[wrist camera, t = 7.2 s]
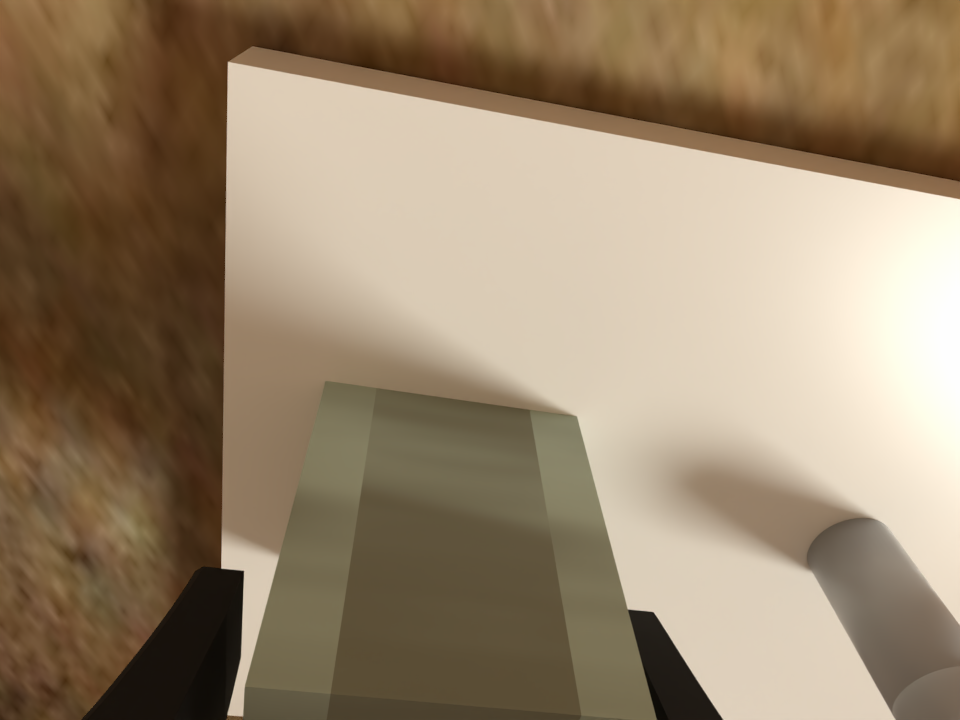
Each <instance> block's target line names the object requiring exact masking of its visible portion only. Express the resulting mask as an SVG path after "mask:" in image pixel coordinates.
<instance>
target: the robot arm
mask: <svg viewBox="0 0 960 720" xmlns="http://www.w3.org/2000/svg"><path fill="white" fill-rule="evenodd" d="M243 588H244V571H241V570H231V569H221V568H211V567H202V568H200V569H198V570H197V571H195V573H194V574H193V576H192V578H191V579H190V581H189V582H188V584H187V586H186V587H185V589H184V590H183V592H182V593H181V594H180V596H179V597H178V599H177V600H176V602H175V603H174V605H173V606H172V608H171V609H170V610H169V612H168V613H167V615H166V616H165V617H164V619H163V620H162V621H161V623H160V624H159V625H158V627H157V628H156V629H155V631H154V632H153V633H152V635H151V636H150V637H149V639H148V640H147V641H146V643H145V644H144V645H143V647H142V648H141V649H140V650H139V652H138V653H137V654H136V655H135V657H134V658H133V659H132V660H131V661H130V663H129V664H128V665H127V666H126V668H125V669H124V670H123V671H122V673H121V674H120V675H119V676H118V678H117V679H116V680H115V681H114V682H113V684H112V685H111V686H110V687H109V689H108V690H107V691H106V692H105V693H104V695H103V696H102V697H101V698H100V699H99V701H98V702H97V703H96V704H95V705H94V706H93V707H92V708H91V710H90V711H89V712H88V713H87V714H86V715H85V716H84V717H83V719H82V720H226V718H227V714H228V710H229V706H230V702H231V698H232V694H233V690H234V685H235V681H236V677H237V673H238V668H239V664H240V660H241V645H242V616H243ZM628 612H629V616H630V620H631V624H632V627H633V631H634V635H635V639H636V643H637V646H638V650H639V654H640V658H641V661H642V665H643V669H644V673H645V677H646V680H647V684H648V688H649V692H650V696H651V699H652V703H653V707H654V711H655V715H656V718H657V720H723V719H722V717H721V716H720V714H719V713H718V711H717V710H716V708H715V707H714V705H713V704H712V702H711V701H710V699H709V698H708V696H707V695H706V693H705V692H704V690H703V688H702V687H701V685H700V684H699V682H698V681H697V679H696V678H695V676H694V674H693V673H692V671H691V670H690V668H689V667H688V665H687V664H686V662H685V660H684V659H683V657H682V656H681V654H680V652H679V651H678V649H677V648H676V646H675V645H674V643H673V641H672V640H671V638H670V637H669V635H668V633H667V632H666V630H665V629H664V627H663V626H662V624H661V622H660V621H659V619H658V618H657V616H656V615H655V614H654V612H649V611H639V610H629V609H628Z"/></svg>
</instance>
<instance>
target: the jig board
mask: <svg viewBox="0 0 960 720" xmlns="http://www.w3.org/2000/svg"><path fill="white" fill-rule="evenodd" d="M325 381H331V382H338V383H345V384H352V385H359V386H366V387H373V388H380V389H387V390H394V391H401V392H408V393H415V394H422V395H429V396H436V397H443V398H450V399H457V400H464V401H472V402H479V403H486V404H493V405H500V406H507V407H514V408H521V409H528V410H535V411H542V412H549V413H556V414H563V415H570V416H577V419H578V422H579V426H580V430H581V434H582V437H583V441H584V445H585V449H586V453H587V456H588V460H589V464H590V468H591V472H592V475H593V479H594V483H595V487H596V491H597V494H598V498H599V502H600V506H601V510H602V513H603V517H604V521H605V525H606V529H607V532H608V536H609V540H610V544H611V548H612V551H613V555H614V559H615V563H616V567H617V570H618V574H619V578H620V582H621V586H622V589H623V593H624V597H625V601H626V605H627V608H628V609H629V610H639V611H649V612H654V614H655V615H656V616H657V618H658V619H659V621H660V622H661V624H662V626H663V627H664V629H665V630H666V632H667V633H668V635H669V637H670V638H671V640H672V641H673V643H674V645H675V646H676V648H677V649H678V651H679V652H680V654H681V656H682V657H683V659H684V660H685V662H686V664H687V665H688V667H689V668H690V670H691V671H692V673H693V674H694V676H695V678H696V679H697V681H698V682H699V684H700V685H701V687H702V688H703V690H704V692H705V693H706V695H707V696H708V698H709V699H710V701H711V702H712V704H713V705H714V707H715V708H716V710H717V711H718V713H719V714H720V716H721V717H722V719H723V720H960V181H955V180H950V179H944V178H939V177H934V176H929V175H923V174H918V173H913V172H908V171H903V170H897V169H892V168H887V167H882V166H876V165H871V164H866V163H861V162H856V161H850V160H845V159H840V158H835V157H829V156H824V155H819V154H814V153H808V152H803V151H798V150H793V149H788V148H782V147H777V146H772V145H767V144H761V143H756V142H751V141H746V140H741V139H735V138H730V137H725V136H720V135H714V134H709V133H704V132H699V131H693V130H688V129H683V128H678V127H673V126H667V125H662V124H657V123H652V122H646V121H641V120H636V119H631V118H626V117H620V116H615V115H610V114H605V113H599V112H594V111H589V110H584V109H579V108H573V107H568V106H563V105H558V104H552V103H547V102H542V101H537V100H531V99H526V98H521V97H516V96H511V95H505V94H500V93H495V92H490V91H484V90H479V89H474V88H469V87H464V86H458V85H453V84H448V83H443V82H437V81H432V80H427V79H422V78H416V77H411V76H406V75H401V74H396V73H390V72H385V71H380V70H375V69H369V68H364V67H359V66H354V65H349V64H343V63H338V62H333V61H328V60H322V59H317V58H312V57H307V56H301V55H296V54H291V53H286V52H281V51H275V50H270V49H265V48H260V47H254V46H252V47H250V48H249V49H247V50H246V51H244V52H243V53H241V54H239V55H238V56H236V57H235V58H233V59H232V60H230V61H228V93H227V170H226V247H225V324H224V401H223V478H222V555H221V569H231V570H241V571H244V588H243V616H242V645H241V660H240V664H239V668H238V673H237V677H236V681H235V685H234V690H233V694H232V698H231V702H230V706H229V710H228V714H227V715H231V716H243V709H244V690H245V684H246V680H247V676H248V672H249V668H250V665H251V661H252V657H253V653H254V650H255V646H256V642H257V638H258V634H259V631H260V627H261V623H262V619H263V616H264V612H265V608H266V604H267V600H268V597H269V593H270V589H271V585H272V582H273V578H274V574H275V570H276V566H277V563H278V559H279V555H280V551H281V548H282V544H283V540H284V536H285V532H286V529H287V525H288V521H289V517H290V513H291V510H292V506H293V502H294V498H295V495H296V491H297V487H298V483H299V479H300V476H301V472H302V468H303V464H304V461H305V457H306V453H307V449H308V445H309V442H310V438H311V434H312V430H313V427H314V423H315V419H316V415H317V411H318V408H319V404H320V400H321V396H322V393H323V389H324V385H325Z"/></svg>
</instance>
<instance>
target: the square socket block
mask: <svg viewBox="0 0 960 720" xmlns="http://www.w3.org/2000/svg"><path fill="white" fill-rule="evenodd" d="M243 720H657V718H656V715H655V711H654V707H653V703H652V699H651V696H650V692H649V688H648V684H647V680H646V677H645V673H644V669H643V665H642V661H641V658H640V654H639V650H638V646H637V643H636V639H635V635H634V631H633V627H632V624H631V620H630V616H629V612H628V608H627V605H626V601H625V597H624V593H623V589H622V586H621V582H620V578H619V574H618V570H617V567H616V563H615V559H614V555H613V551H612V548H611V544H610V540H609V536H608V532H607V529H606V525H605V521H604V517H603V513H602V510H601V506H600V502H599V498H598V494H597V491H596V487H595V483H594V479H593V475H592V472H591V468H590V464H589V460H588V456H587V453H586V449H585V445H584V441H583V437H582V434H581V430H580V426H579V422H578V419H577V416H570V415H563V414H556V413H549V412H542V411H535V410H528V409H521V408H514V407H507V406H500V405H493V404H486V403H479V402H472V401H464V400H457V399H450V398H443V397H436V396H429V395H422V394H415V393H408V392H401V391H394V390H387V389H380V388H373V387H366V386H359V385H352V384H345V383H338V382H331V381H325V385H324V389H323V393H322V396H321V400H320V404H319V408H318V411H317V415H316V419H315V423H314V427H313V430H312V434H311V438H310V442H309V445H308V449H307V453H306V457H305V461H304V464H303V468H302V472H301V476H300V479H299V483H298V487H297V491H296V495H295V498H294V502H293V506H292V510H291V513H290V517H289V521H288V525H287V529H286V532H285V536H284V540H283V544H282V548H281V551H280V555H279V559H278V563H277V566H276V570H275V574H274V578H273V582H272V585H271V589H270V593H269V597H268V600H267V604H266V608H265V612H264V616H263V619H262V623H261V627H260V631H259V634H258V638H257V642H256V646H255V650H254V653H253V657H252V661H251V665H250V668H249V672H248V676H247V680H246V684H245V690H244V709H243Z"/></svg>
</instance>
